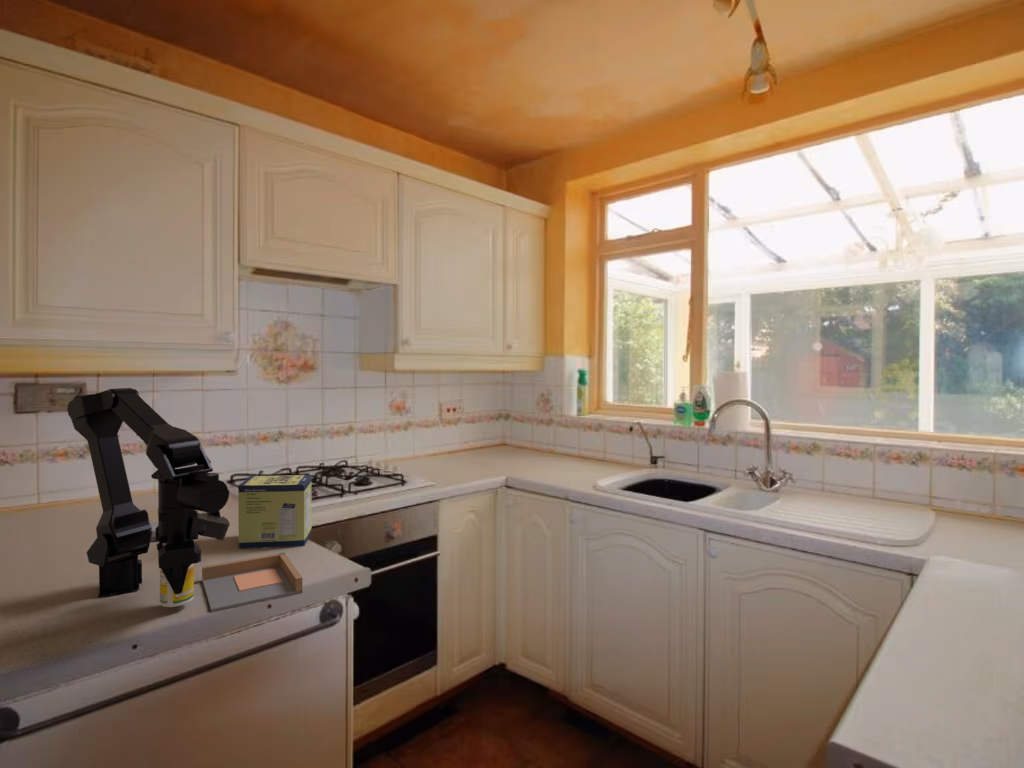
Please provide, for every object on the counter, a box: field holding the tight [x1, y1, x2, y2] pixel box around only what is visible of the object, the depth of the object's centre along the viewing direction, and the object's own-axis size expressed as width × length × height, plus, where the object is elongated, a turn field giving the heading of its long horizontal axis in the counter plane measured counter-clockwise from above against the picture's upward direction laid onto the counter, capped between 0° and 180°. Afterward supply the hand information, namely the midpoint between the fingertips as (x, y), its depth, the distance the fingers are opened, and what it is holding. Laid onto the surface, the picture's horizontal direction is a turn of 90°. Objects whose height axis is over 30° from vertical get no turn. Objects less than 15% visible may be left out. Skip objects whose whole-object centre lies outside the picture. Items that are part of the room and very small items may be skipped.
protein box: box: [237, 474, 313, 549], centre depth 138 cm, size 10×16×16 cm
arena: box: [201, 552, 303, 613], centre depth 112 cm, size 16×16×3 cm
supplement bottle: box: [159, 564, 195, 608], centre depth 102 cm, size 5×5×10 cm
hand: (177, 587), depth 102 cm, fingers closed on supplement bottle, 5 cm apart
